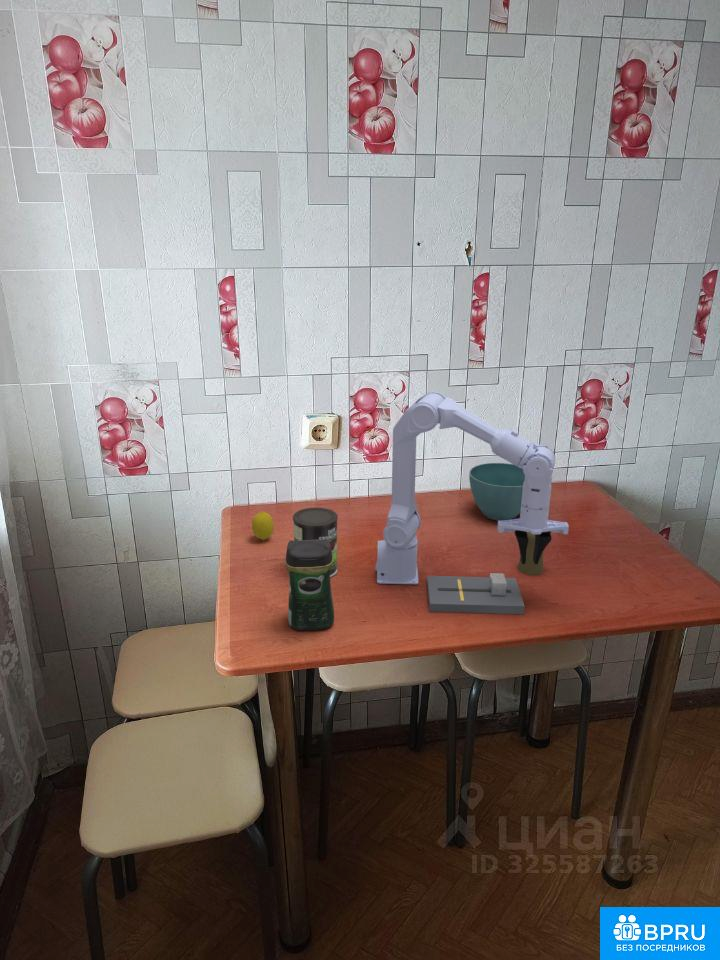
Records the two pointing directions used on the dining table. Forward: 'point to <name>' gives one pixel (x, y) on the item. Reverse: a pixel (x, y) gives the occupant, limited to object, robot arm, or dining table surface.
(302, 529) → the coffee can
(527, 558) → the cork
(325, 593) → the coffee jar
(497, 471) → the teal bowl
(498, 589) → the fader
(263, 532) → the lemon
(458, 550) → the dining table surface
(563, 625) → the dining table surface
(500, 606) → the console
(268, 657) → the dining table surface
